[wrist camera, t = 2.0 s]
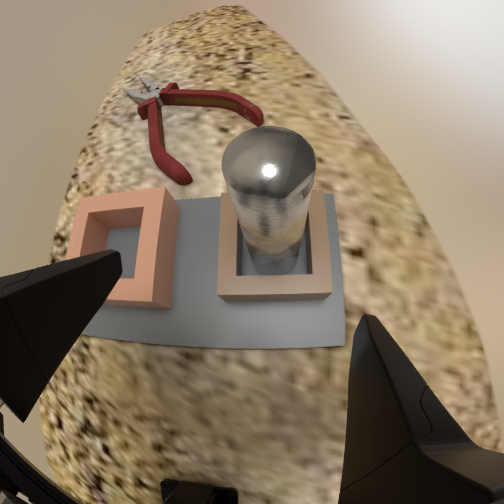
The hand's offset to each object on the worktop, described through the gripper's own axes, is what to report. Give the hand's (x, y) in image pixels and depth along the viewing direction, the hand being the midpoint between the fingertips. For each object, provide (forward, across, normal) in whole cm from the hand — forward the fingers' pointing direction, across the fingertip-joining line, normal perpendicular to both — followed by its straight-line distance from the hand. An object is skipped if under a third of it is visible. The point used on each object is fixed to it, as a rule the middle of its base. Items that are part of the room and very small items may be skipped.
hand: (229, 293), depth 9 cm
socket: (+9, +12, +6) cm, 16 cm away
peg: (+11, 0, +4) cm, 12 cm away
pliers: (+23, +14, -5) cm, 27 cm away
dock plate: (+10, +6, +7) cm, 13 cm away
